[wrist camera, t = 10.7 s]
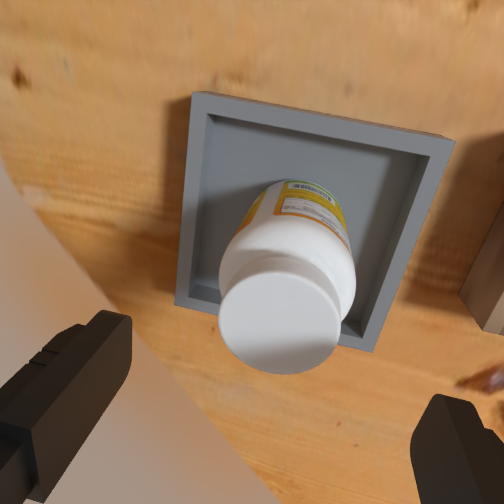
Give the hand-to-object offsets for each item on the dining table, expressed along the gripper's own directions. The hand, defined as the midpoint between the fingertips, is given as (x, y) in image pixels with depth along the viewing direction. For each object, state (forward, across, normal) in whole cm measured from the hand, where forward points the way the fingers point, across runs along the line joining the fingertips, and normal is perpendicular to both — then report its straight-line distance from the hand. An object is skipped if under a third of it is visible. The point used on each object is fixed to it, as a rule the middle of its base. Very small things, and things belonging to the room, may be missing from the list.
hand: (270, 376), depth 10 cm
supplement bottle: (+12, 0, 0) cm, 12 cm away
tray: (+13, 0, 0) cm, 13 cm away
